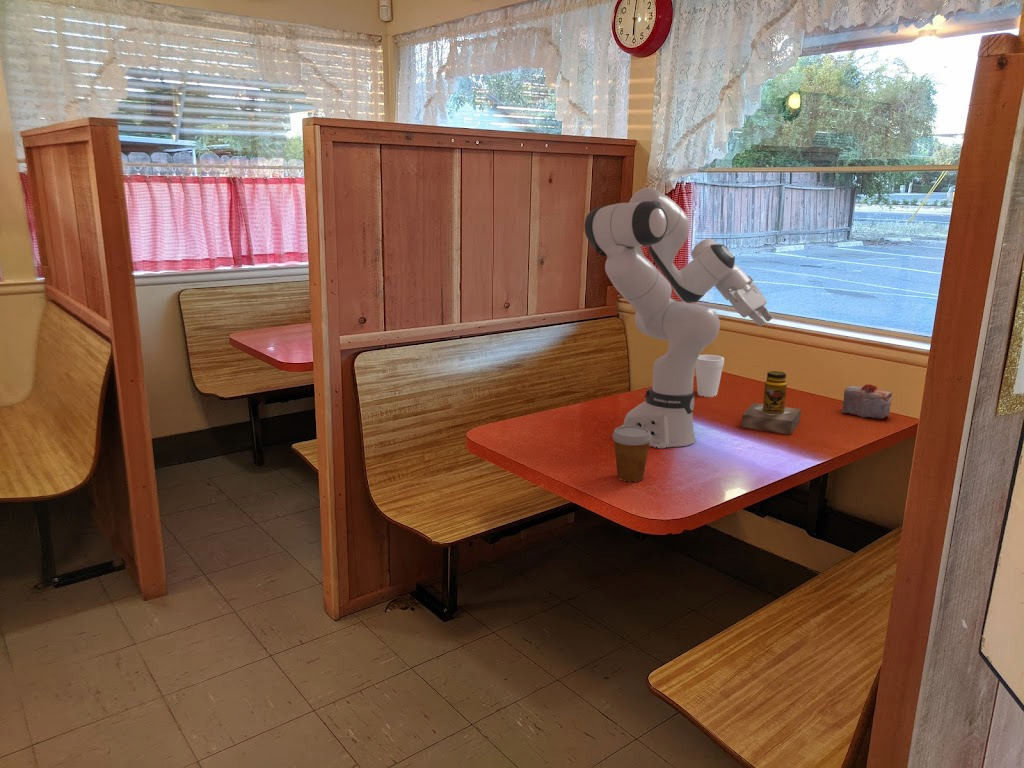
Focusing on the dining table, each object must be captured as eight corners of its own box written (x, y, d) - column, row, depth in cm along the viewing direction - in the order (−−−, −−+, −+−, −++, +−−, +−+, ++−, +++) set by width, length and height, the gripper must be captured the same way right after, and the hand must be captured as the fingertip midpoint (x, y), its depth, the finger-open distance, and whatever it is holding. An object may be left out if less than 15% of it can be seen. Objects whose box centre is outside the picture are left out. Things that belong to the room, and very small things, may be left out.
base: (741, 427, 222) (742, 414, 221) (752, 415, 234) (753, 402, 233) (791, 434, 215) (792, 421, 214) (799, 421, 227) (800, 409, 226)
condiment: (770, 416, 219) (774, 376, 216) (752, 408, 227) (756, 369, 224) (791, 413, 221) (795, 374, 218) (773, 406, 229) (776, 368, 226)
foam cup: (691, 390, 262) (693, 354, 258) (717, 391, 261) (720, 354, 258) (696, 398, 253) (698, 360, 249) (724, 398, 252) (726, 360, 249)
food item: (892, 416, 233) (896, 385, 230) (886, 422, 227) (890, 391, 224) (845, 408, 241) (849, 379, 238) (839, 414, 235) (842, 384, 232)
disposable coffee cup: (645, 470, 188) (647, 424, 185) (653, 484, 179) (656, 437, 176) (607, 470, 188) (609, 425, 185) (614, 485, 179) (615, 437, 176)
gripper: (734, 282, 208) (767, 320, 206) (751, 275, 226) (782, 310, 223) (717, 297, 212) (750, 334, 209) (735, 289, 229) (765, 324, 226)
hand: (766, 322), depth 216 cm, fingers open, 8 cm apart
